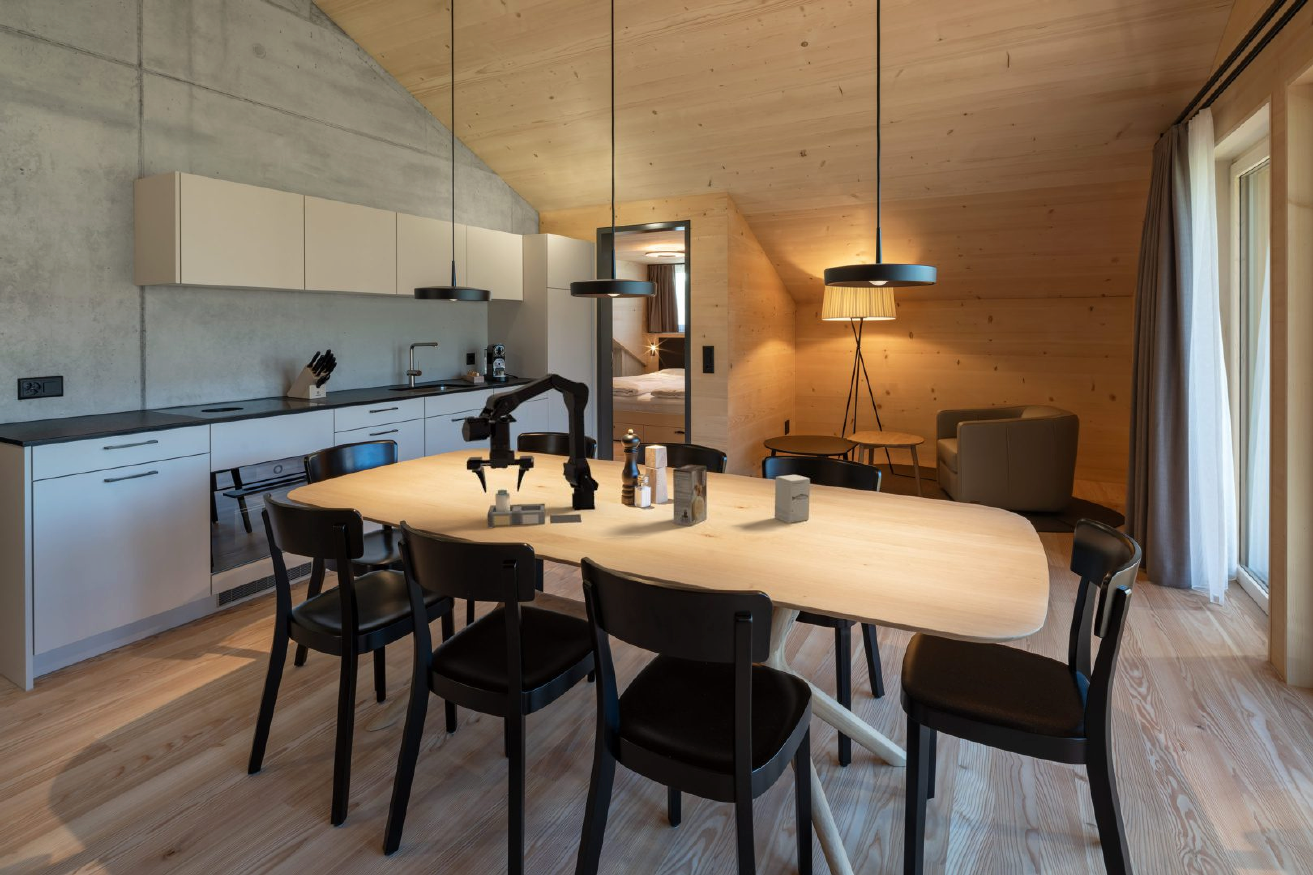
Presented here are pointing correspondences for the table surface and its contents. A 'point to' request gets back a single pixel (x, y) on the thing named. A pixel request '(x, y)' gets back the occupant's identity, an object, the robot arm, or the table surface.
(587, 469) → the robot arm
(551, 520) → the mat
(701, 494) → the coffee box
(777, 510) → the supplement box
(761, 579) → the table surface
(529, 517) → the socket block
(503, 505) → the beige and green cylinder
